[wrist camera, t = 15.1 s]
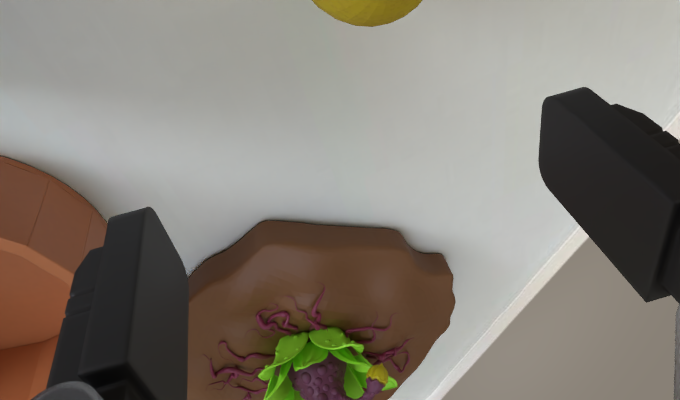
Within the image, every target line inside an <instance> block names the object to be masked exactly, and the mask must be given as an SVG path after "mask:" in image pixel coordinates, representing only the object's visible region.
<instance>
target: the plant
mask: <svg viewBox="0 0 680 400" xmlns="http://www.w3.org/2000/svg"><path fill="white" fill-rule="evenodd" d="M188 284H189V318H188V379H187V400H387V399H389V398H390V397H391V396H392V395H393V394H394V393H395V392H396V390H397V389H398V388H399V387H400V386H401V385H402V383H403V382H404V381H405V380H406V379H407V378H408V377H409V376H410V375H411V374H412V373H413V372H414V371H415V370H416V369H417V368H418V366H419V365H420V364H421V362H422V361H423V360H424V358H425V357H426V355H427V353H428V352H429V350H430V349H431V347H432V345H433V344H434V342H435V341H436V340H437V339H438V338H439V337H440V336H441V335H442V334H443V333H444V332H445V331H446V330H447V328H448V327H449V325H450V317H451V314H452V312H453V309H454V306H455V297H454V294H453V290H452V287H453V274H452V272H451V270H450V268H449V266H448V264H447V262H446V260H445V258H444V256H443V255H442V254H423V253H419V252H417V251H415V250H413V249H412V248H411V247H410V246H409V245H408V244H407V243H406V241H405V239H404V237H403V236H402V234H401V233H400V232H398V231H395V230H391V229H385V228H362V227H347V226H326V225H313V224H307V223H298V222H286V221H264V222H261V223H259V224H258V225H257V226H256V227H254V228H253V229H252V230H251V231H249V232H248V233H247V234H246V235H245V236H244V237H243V238H242V239H240V240H239V241H238V242H237V243H236V244H234V245H233V246H232V247H230V248H229V249H228V250H226V251H225V252H222V253H220V254H218V255H215V256H213V257H211V258H209V259H208V260H207V261H205V262H204V263H203V264H202V265H201V266H200V267H199V268H198V269H197V270H196V271H195V272H194V273H193V274H192V275H191V276H190V277H189V278H188Z"/></svg>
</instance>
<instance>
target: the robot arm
mask: <svg viewBox="0 0 680 400" xmlns="http://www.w3.org/2000/svg"><path fill="white" fill-rule="evenodd" d="M539 168H540V173H541V176H542V178H543V181H544V183H545V185H546V186H547V188H548V189H549V190H550V191H551V192H552V194H553V195H554V196H555V197H556V198H557V199H558V201H559V202H560V203H561V204H562V205H563V206H564V208H565V209H566V210H567V211H568V212H569V213H570V215H571V216H572V217H573V218H574V219H575V220H576V222H577V223H578V224H579V225H580V226H581V227H582V228H583V230H584V231H585V232H586V233H587V234H588V235H589V237H590V238H591V239H592V240H593V241H594V242H595V244H596V245H597V246H598V247H599V248H600V249H601V251H602V252H603V253H604V254H605V255H606V256H607V257H608V259H609V260H610V261H611V262H612V263H613V264H614V266H615V267H616V268H617V269H618V270H619V271H620V273H621V274H622V275H623V276H624V277H625V278H626V280H627V281H628V282H629V283H630V284H631V285H632V287H633V288H634V289H635V290H636V291H637V292H638V294H639V295H640V296H641V297H642V298H643V299H644V301H645V302H650V301H653V300H656V299H659V298H663V297H666V296H670V295H672V296H673V297H674V298H675V300H676V301H677V302H678V303H679V306H678V309H677V312H676V330H675V331H676V332H675V374H674V376H675V377H674V400H680V144H679V143H678V139H676V138H675V137H674V136H672V135H671V134H670V133H668V132H667V131H664V132H663V130H662V127H660V126H659V125H657V124H656V123H655V122H653V121H652V120H651V119H649V118H648V117H647V116H645V115H644V114H643V113H640V112H637V111H635V110H632V109H629V108H626V107H624V106H621V105H618V104H614V105H610V104H608V103H607V102H606V101H605V100H603V99H602V98H601V97H599V96H598V95H597V94H596V93H594V92H593V91H592V90H590V89H589V88H586V87H582V88H578V89H575V90H571V91H567V92H564V93H560V94H557V95H553V96H549V97H547V98H546V99H545V100H544V102H543V105H542V115H541V130H540V145H539ZM69 295H70V299H68V301H67V306H66V310H65V315H66V317H65V318H63V322H62V326H61V330H60V334H59V338H58V342H57V346H56V350H55V354H54V358H53V362H52V366H51V370H50V374H49V378H48V382H47V386H46V389H45V390H44V391H42V392H41V393H39V394H37V395H36V396H35V397H33V398H32V399H31V400H187V379H188V318H189V284H188V278H187V274H186V270H185V267H184V265H183V262H182V260H181V258H180V256H179V254H178V252H177V251H176V249H175V247H174V245H173V243H172V241H171V240H170V238H169V236H168V234H167V232H166V230H165V229H164V227H163V225H162V223H161V221H160V219H159V218H158V216H157V214H156V212H155V211H154V210H153V209H152V208H151V207H146V208H142V209H139V210H135V211H131V212H128V213H124V214H121V215H117V216H113V217H111V218H110V219H109V221H108V225H107V230H106V235H105V240H104V245H103V246H102V247H99V248H95V249H92V250H90V251H89V253H88V254H87V255H86V257H85V258H84V260H83V261H82V263H81V264H80V265H79V267H78V268H77V270H76V271H75V273H74V277H73V281H72V285H71V289H70V293H69Z"/></svg>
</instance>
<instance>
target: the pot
mask: <svg viewBox="0 0 680 400" xmlns="http://www.w3.org/2000/svg"><path fill="white" fill-rule="evenodd" d="M106 230H107V223H106V221H105V220H104V219H103V218H102V217H101V215H100V214H99V213H98V212H97V210H96V209H95V208H94V207H93V206H92V205H91V204H90V203H88V202H87V201H86V200H85V199H84V198H83V197H82V196H81V195H79V194H78V193H77V192H75V191H74V190H73V189H71V188H70V187H69V186H67V185H65V184H64V183H62V182H60V181H59V180H57V179H55V178H54V177H52V176H50V175H48V174H46V173H44V172H42V171H40V170H38V169H35V168H33V167H31V166H29V165H26V164H23V163H20V162H17V161H15V160H12V159H9V158H6V157H2V156H0V400H31V399H32V398H33V397H35V396H36V395H37V394H39V393H41V392H42V391H44V390H45V389H46V386H47V382H48V378H49V374H50V370H51V366H52V362H53V358H54V354H55V350H56V346H57V342H58V338H59V334H60V330H61V326H62V322H63V318H65V317H66V315H65V310H66V306H67V301H68V299H70V295H69V293H70V289H71V285H72V281H73V277H74V273H75V271H76V270H77V268H78V267H79V265H80V264H81V263H82V261H83V260H84V258H85V257H86V255H87V254H88V253H89V251H90V250H92V249H95V248H99V247H102V246H103V245H104V240H105V235H106Z"/></svg>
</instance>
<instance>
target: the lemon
mask: <svg viewBox="0 0 680 400" xmlns="http://www.w3.org/2000/svg"><path fill="white" fill-rule="evenodd" d="M312 1H313V2H314V3H315V4H316V5H317V6H318V7H319V8H320V9H322V10H323V11H325V12H326V13H328V14H329V15H331V16H332V17H334V18H335V19H337V20H340V21H343V22H346V23H349V24H352V25H356V26H369V27H373V26H379V25H384V24H389V23H391V22H394V21H396V20H398V19H400V18H402V17H404V16H406V15H407V14H408V13H409V12H411V11H412V10H413V9H415V8H416V7H417V6H418V5H419V4H420V3H421V1H422V0H312Z"/></svg>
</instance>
